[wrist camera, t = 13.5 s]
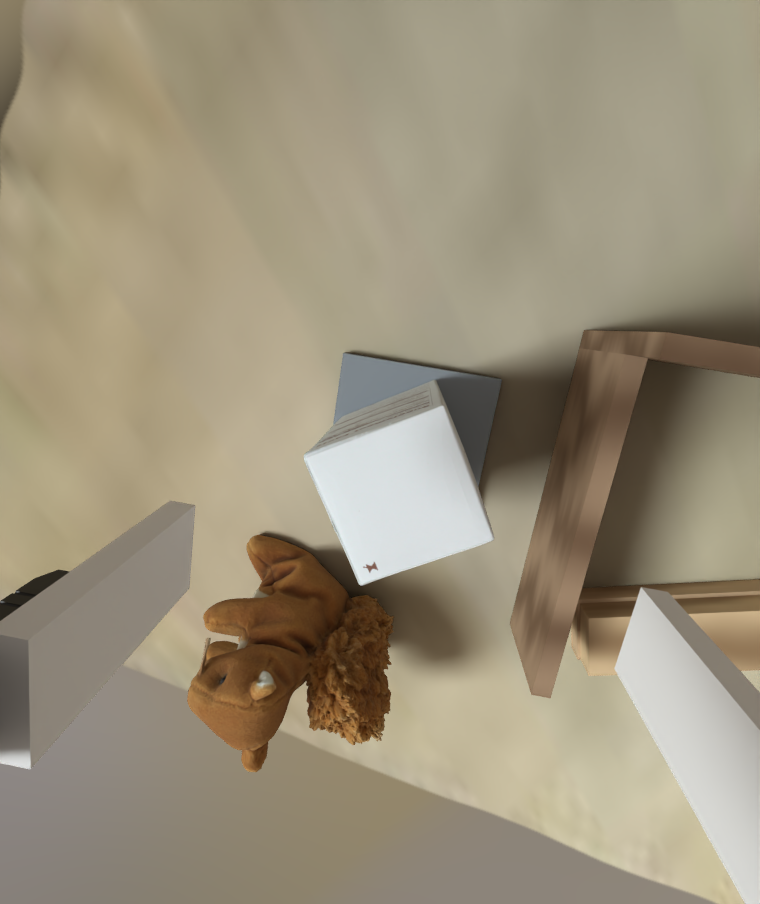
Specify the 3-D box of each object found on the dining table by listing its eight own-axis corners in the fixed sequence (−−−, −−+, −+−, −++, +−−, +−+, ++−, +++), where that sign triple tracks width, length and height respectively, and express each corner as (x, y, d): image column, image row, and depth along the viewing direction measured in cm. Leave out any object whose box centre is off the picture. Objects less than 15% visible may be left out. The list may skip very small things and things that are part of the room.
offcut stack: (569, 586, 39) (585, 614, 36) (821, 573, 38) (867, 602, 34) (570, 643, 41) (586, 677, 37) (814, 633, 39) (858, 668, 35)
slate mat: (344, 352, 36) (343, 353, 35) (500, 378, 36) (501, 379, 35) (324, 498, 39) (322, 502, 38) (468, 524, 38) (469, 528, 38)
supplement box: (472, 472, 37) (499, 546, 24) (376, 505, 38) (355, 592, 25) (437, 375, 35) (447, 401, 23) (338, 412, 36) (297, 457, 24)
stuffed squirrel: (247, 526, 40) (165, 620, 27) (420, 579, 40) (420, 698, 27) (220, 634, 42) (135, 766, 30) (384, 684, 42) (368, 838, 30)
